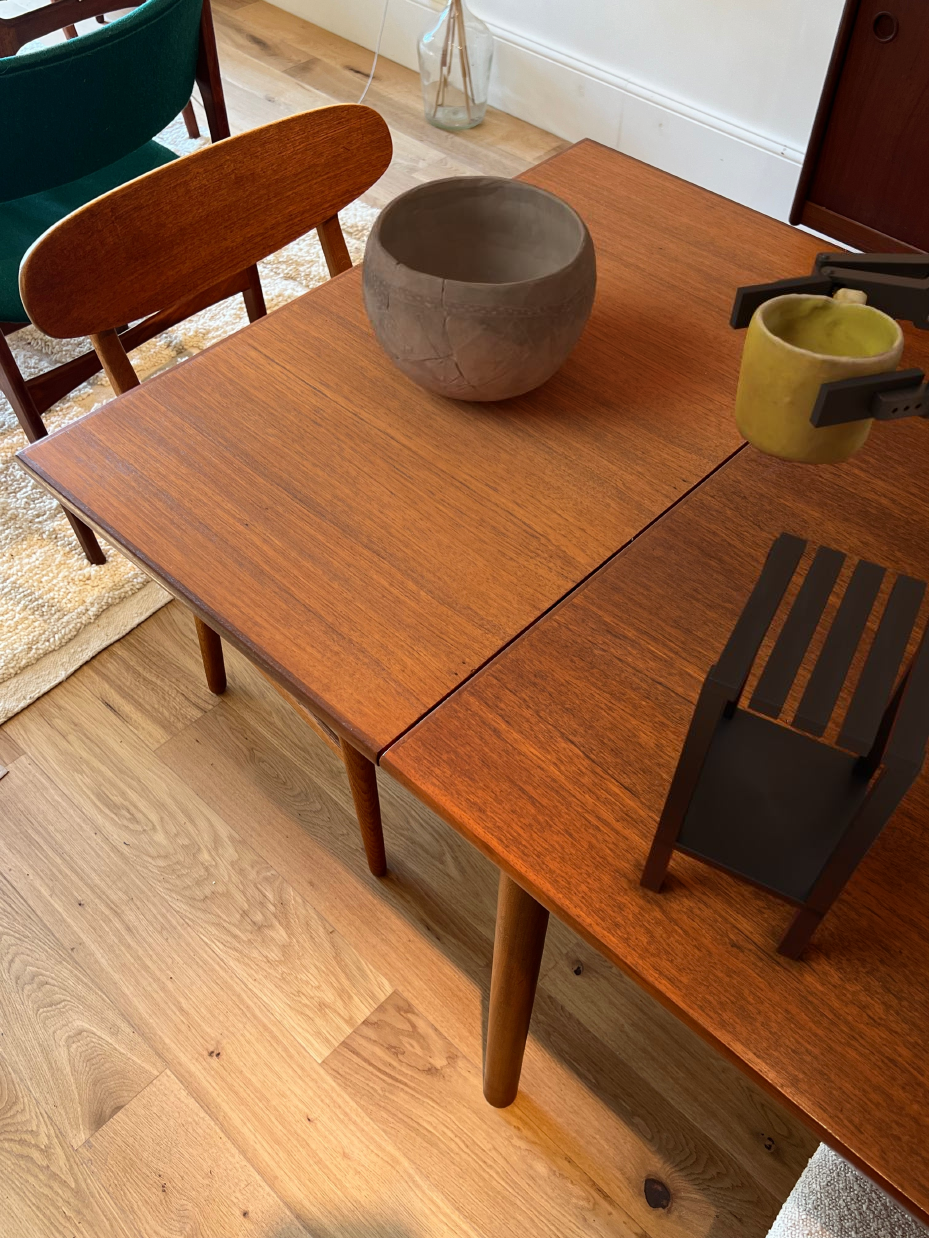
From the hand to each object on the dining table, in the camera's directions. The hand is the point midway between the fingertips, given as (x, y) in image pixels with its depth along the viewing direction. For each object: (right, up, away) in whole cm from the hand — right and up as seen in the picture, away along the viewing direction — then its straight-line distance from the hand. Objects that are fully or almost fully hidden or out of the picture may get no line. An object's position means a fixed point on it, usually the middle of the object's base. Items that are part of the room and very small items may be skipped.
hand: (774, 355), depth 63 cm
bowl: (-18, +7, +33) cm, 39 cm away
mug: (+4, -3, +6) cm, 7 cm away
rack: (-2, -31, 0) cm, 31 cm away
